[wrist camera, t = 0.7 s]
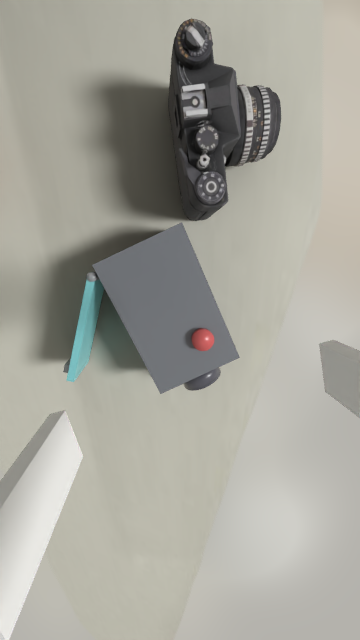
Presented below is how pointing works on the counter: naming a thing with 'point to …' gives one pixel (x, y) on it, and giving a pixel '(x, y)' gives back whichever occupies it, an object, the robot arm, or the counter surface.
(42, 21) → the counter surface
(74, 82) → the counter surface
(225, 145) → the camera
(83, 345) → the door
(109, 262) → the grey boxy piece
